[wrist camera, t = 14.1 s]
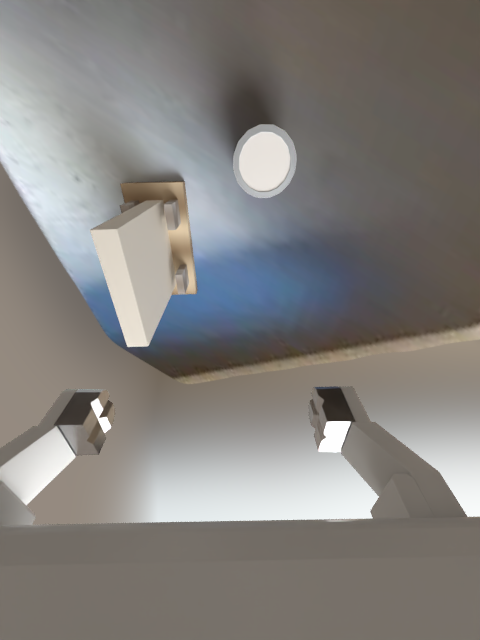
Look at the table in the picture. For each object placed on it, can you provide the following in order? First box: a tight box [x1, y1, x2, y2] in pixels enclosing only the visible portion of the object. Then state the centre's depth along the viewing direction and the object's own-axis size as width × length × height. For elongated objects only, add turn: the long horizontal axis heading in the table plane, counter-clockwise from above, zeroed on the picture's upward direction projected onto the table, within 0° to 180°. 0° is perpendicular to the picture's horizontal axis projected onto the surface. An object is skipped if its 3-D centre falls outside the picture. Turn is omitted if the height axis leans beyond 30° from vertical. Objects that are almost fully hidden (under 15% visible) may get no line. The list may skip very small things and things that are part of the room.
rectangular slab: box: [90, 200, 176, 347], centre depth 31 cm, size 12×3×16 cm, turn 1°
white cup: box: [233, 124, 297, 198], centre depth 31 cm, size 7×7×7 cm
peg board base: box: [120, 181, 197, 295], centre depth 37 cm, size 16×8×6 cm, turn 1°
